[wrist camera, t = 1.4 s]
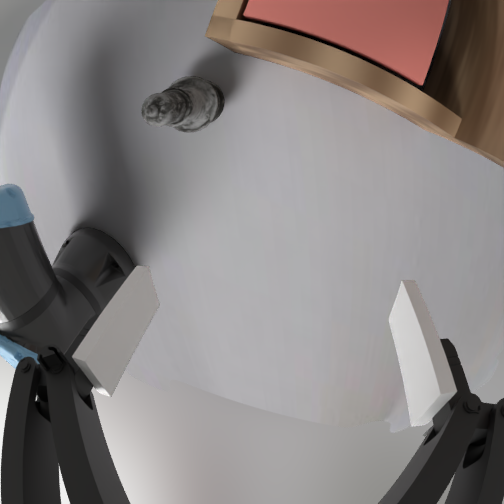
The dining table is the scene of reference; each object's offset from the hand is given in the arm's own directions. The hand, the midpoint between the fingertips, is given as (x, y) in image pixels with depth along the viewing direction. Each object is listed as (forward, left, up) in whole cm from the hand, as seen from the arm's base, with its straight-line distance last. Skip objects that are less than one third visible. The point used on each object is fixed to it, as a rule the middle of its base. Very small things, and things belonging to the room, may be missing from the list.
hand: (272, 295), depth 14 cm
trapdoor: (-1, +22, -10) cm, 24 cm away
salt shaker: (-12, +5, -20) cm, 24 cm away
